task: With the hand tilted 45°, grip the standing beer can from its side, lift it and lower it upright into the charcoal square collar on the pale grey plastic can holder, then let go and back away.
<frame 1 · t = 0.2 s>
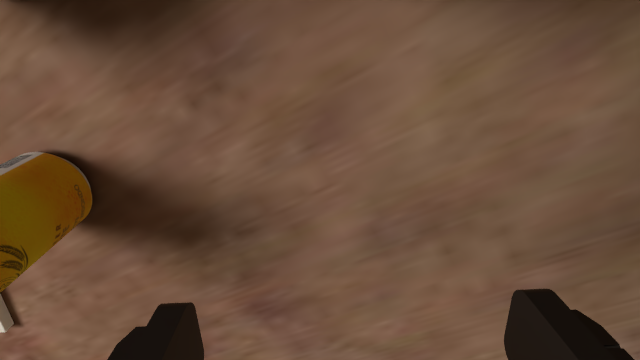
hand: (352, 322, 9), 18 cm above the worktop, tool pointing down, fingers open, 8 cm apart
beer can: (58, 184, 28), on the worktop
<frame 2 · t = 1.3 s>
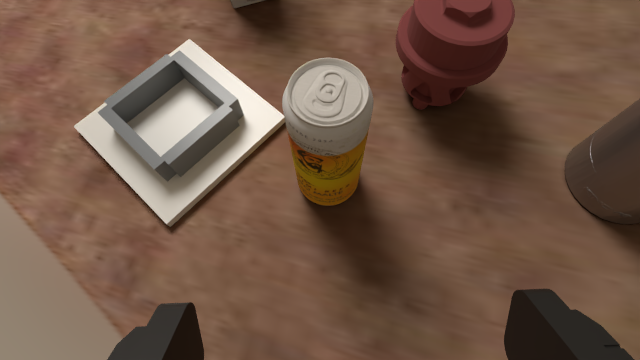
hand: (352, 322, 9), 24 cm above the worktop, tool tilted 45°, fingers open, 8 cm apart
mechanical component: (429, 89, 41), on the worktop
beer can: (327, 180, 38), on the worktop
can holder: (182, 126, 40), on the worktop
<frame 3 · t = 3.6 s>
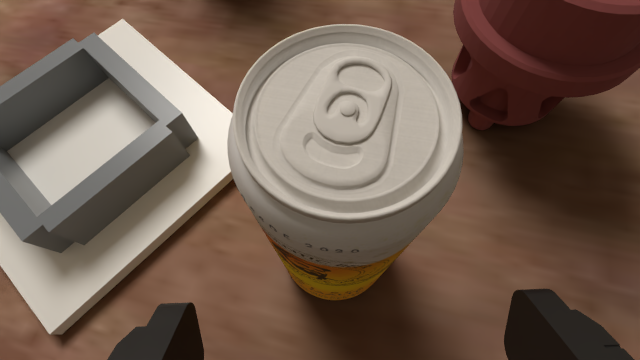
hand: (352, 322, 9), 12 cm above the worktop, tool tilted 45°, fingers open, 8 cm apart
mechanical component: (492, 97, 27), on the worktop
beer can: (334, 249, 22), on the worktop
can holder: (101, 154, 25), on the worktop
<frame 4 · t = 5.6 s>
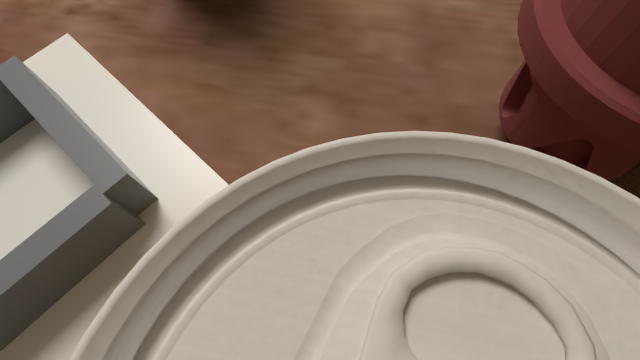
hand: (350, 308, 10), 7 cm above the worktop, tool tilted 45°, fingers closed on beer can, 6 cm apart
mechanical component: (549, 137, 20), on the worktop
can holder: (28, 218, 19), on the worktop
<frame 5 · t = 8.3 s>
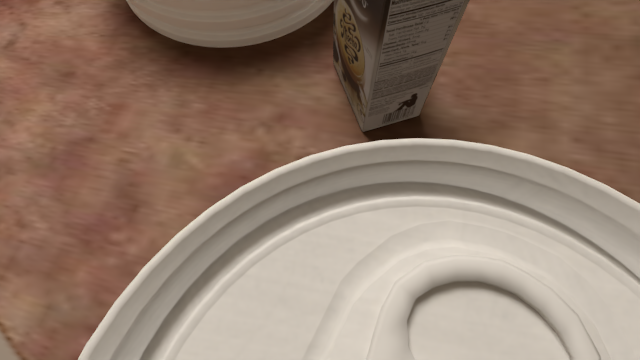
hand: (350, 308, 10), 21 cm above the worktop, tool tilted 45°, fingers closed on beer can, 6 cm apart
coffee box: (374, 89, 37), on the worktop
when the fingers open (10 cm above the worktop, at t = 11.1 s): beer can drops 1 cm, resting on can holder.
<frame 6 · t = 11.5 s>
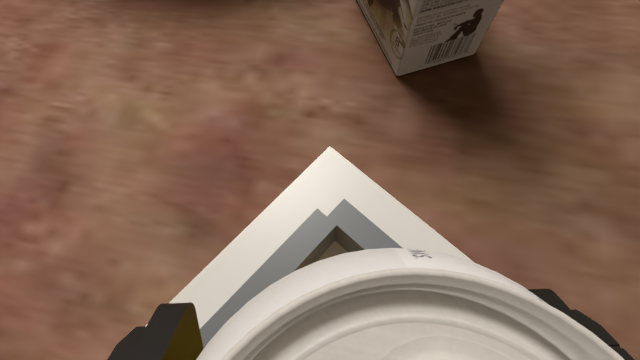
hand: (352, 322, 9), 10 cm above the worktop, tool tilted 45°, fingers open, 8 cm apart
coffee box: (409, 22, 27), on the worktop
can holder: (340, 358, 18), on the worktop
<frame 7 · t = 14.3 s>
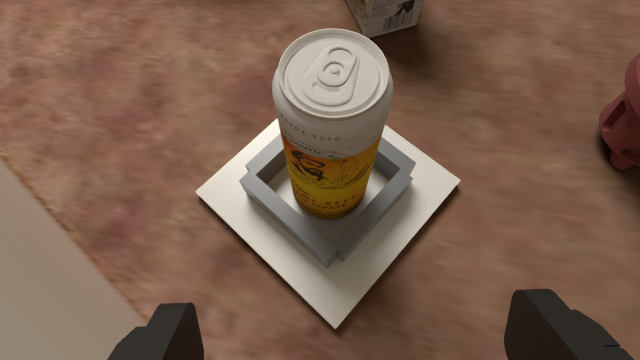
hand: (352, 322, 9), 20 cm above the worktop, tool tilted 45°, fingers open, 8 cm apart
mechanical component: (625, 142, 34), on the worktop
coffee box: (375, 5, 41), on the worktop
beer can: (328, 189, 31), point 1 cm above the worktop, touching can holder
can holder: (327, 190, 32), on the worktop
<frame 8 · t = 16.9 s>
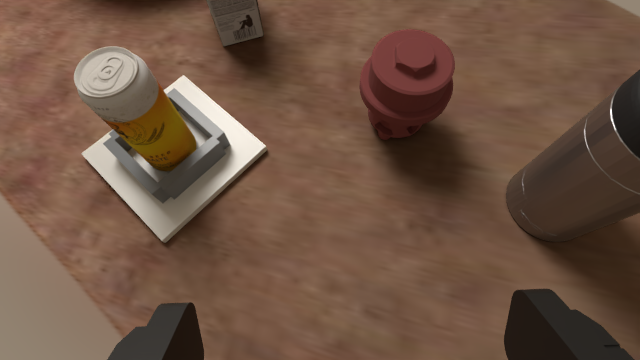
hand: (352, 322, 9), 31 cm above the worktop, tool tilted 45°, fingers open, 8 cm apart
mechanical component: (393, 121, 47), on the worktop
coffee box: (236, 21, 55), on the worktop
beer can: (174, 152, 45), point 1 cm above the worktop, touching can holder
can holder: (176, 153, 46), on the worktop
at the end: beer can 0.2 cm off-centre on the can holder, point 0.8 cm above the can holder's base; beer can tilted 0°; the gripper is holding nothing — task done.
